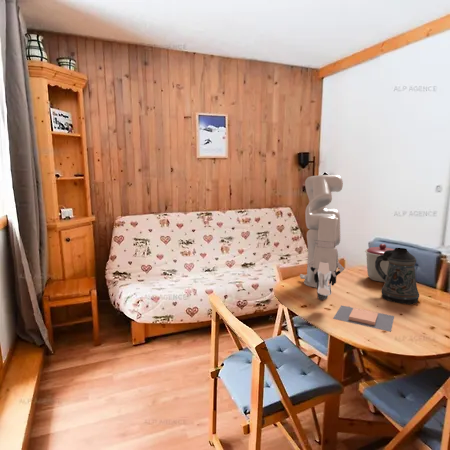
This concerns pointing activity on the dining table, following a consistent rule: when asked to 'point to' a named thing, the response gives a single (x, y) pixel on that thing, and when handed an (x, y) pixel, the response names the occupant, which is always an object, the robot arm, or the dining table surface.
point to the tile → (363, 316)
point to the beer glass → (324, 279)
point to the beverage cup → (321, 295)
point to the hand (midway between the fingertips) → (324, 282)
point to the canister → (371, 258)
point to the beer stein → (398, 276)
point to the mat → (381, 323)
